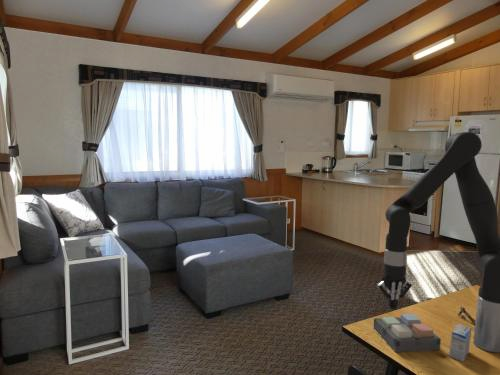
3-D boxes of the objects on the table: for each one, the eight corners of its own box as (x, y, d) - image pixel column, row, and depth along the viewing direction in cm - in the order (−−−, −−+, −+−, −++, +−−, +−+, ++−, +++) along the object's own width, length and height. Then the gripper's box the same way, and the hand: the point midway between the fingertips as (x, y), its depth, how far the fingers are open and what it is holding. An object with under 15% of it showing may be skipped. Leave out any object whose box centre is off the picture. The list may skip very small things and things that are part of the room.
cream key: (404, 330, 135) (404, 324, 135) (411, 337, 131) (412, 331, 130) (391, 331, 135) (391, 324, 134) (398, 338, 130) (398, 331, 130)
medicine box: (454, 347, 133) (456, 323, 132) (469, 351, 130) (471, 327, 129) (448, 356, 127) (451, 331, 126) (464, 362, 124) (466, 336, 123)
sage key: (393, 322, 143) (393, 316, 143) (399, 329, 138) (400, 323, 138) (380, 323, 142) (381, 317, 142) (387, 329, 138) (387, 323, 137)
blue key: (412, 319, 144) (413, 313, 144) (419, 326, 139) (420, 319, 139) (400, 320, 143) (401, 314, 143) (407, 326, 138) (407, 320, 138)
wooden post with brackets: (458, 312, 157) (463, 305, 155) (473, 328, 151) (478, 321, 149) (454, 313, 157) (459, 305, 154) (470, 329, 150) (475, 321, 148)
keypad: (413, 326, 146) (414, 316, 146) (439, 349, 131) (440, 338, 130) (373, 328, 144) (374, 318, 144) (395, 352, 128) (396, 341, 128)
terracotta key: (424, 329, 136) (424, 323, 136) (432, 336, 132) (433, 330, 131) (411, 330, 136) (412, 323, 135) (419, 337, 131) (420, 330, 131)
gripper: (406, 258, 141) (404, 303, 144) (372, 259, 140) (370, 305, 142) (418, 264, 134) (415, 312, 136) (382, 266, 132) (380, 314, 134)
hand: (392, 308), depth 139 cm, fingers closed
